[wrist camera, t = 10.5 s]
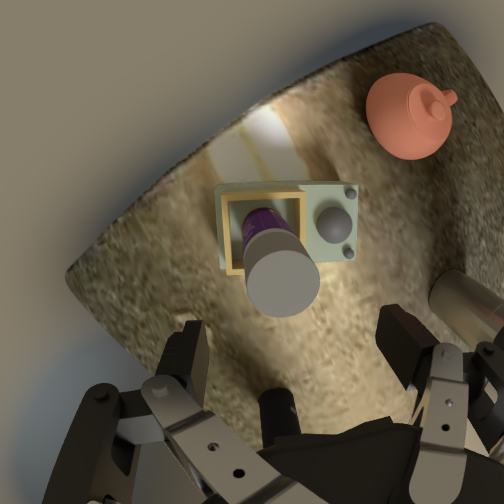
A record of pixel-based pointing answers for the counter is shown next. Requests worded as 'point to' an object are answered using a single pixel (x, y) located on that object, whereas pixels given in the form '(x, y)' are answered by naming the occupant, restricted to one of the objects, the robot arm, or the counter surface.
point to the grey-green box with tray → (290, 217)
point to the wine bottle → (277, 415)
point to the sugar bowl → (409, 115)
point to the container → (276, 265)
